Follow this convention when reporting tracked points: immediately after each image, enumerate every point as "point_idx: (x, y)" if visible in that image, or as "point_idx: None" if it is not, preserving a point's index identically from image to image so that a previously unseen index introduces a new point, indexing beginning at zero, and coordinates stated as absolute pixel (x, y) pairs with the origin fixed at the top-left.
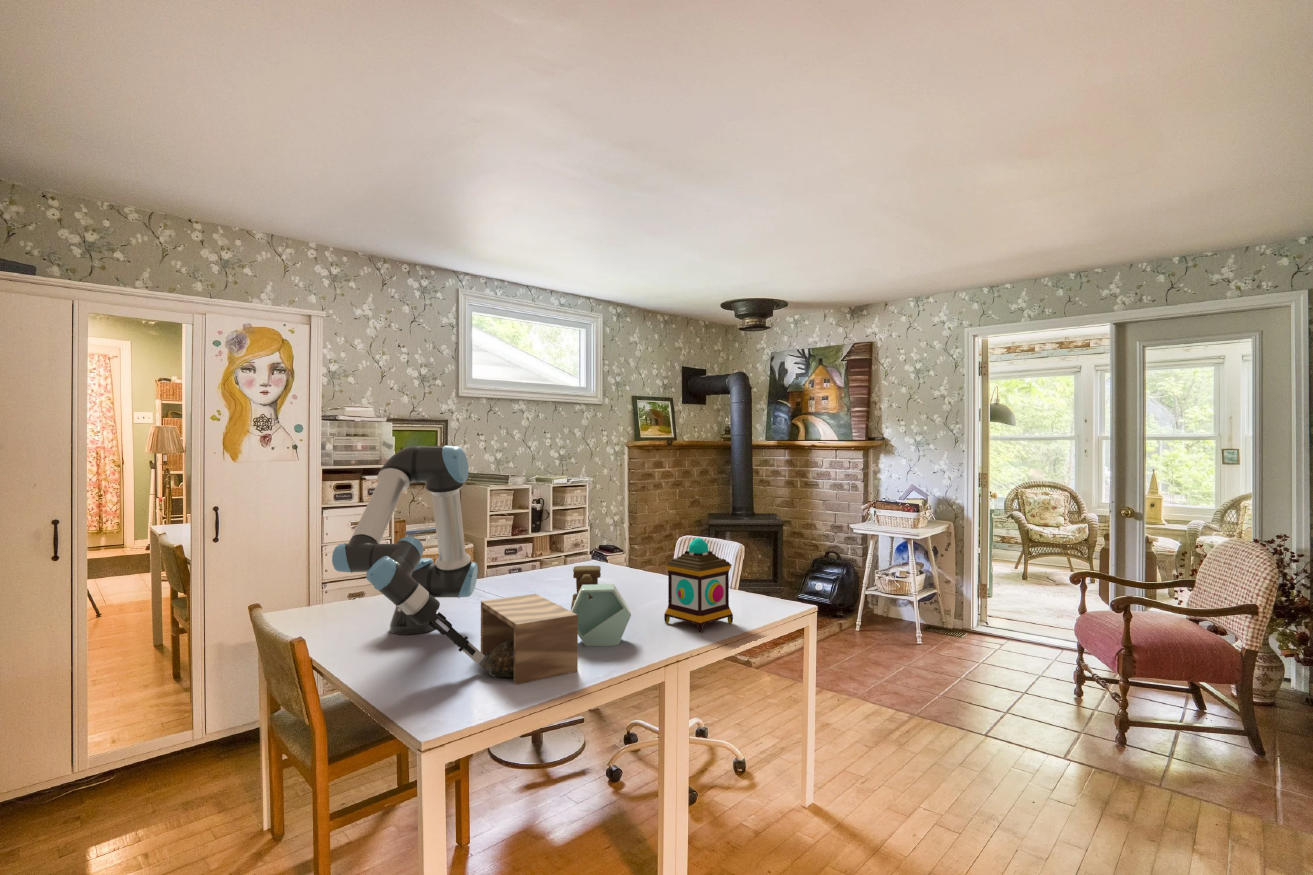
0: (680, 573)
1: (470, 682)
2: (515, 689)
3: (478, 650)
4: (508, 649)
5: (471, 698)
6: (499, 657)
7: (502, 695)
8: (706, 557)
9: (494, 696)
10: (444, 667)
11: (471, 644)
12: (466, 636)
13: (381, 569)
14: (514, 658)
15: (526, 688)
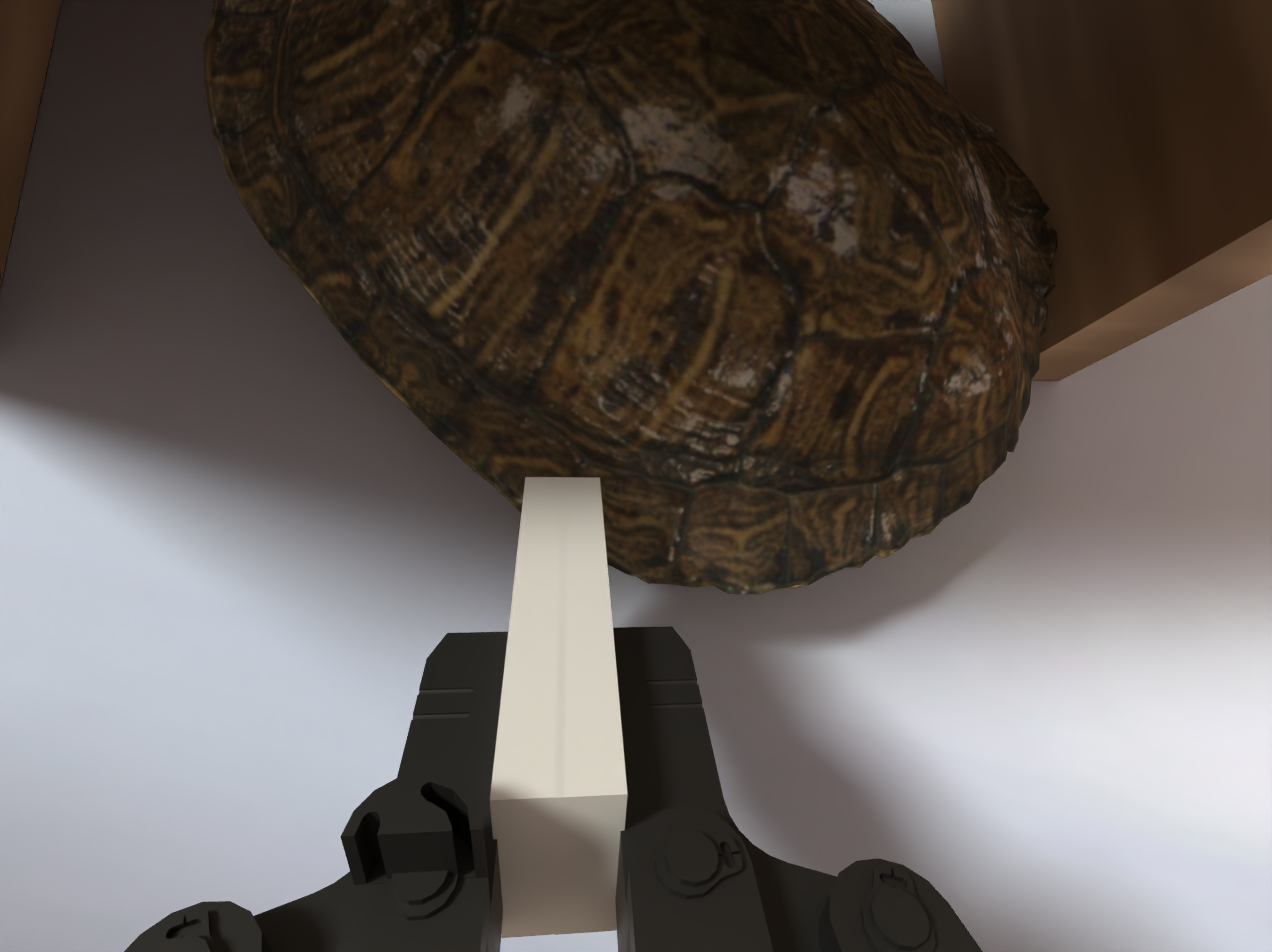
0: None
1: (827, 746)
2: (1162, 428)
3: (604, 564)
4: (920, 194)
5: (1244, 847)
6: (937, 371)
7: (1256, 567)
8: None
9: (1258, 636)
10: (124, 929)
11: (618, 708)
12: (408, 835)
13: None
14: (1227, 260)
15: (1170, 346)
